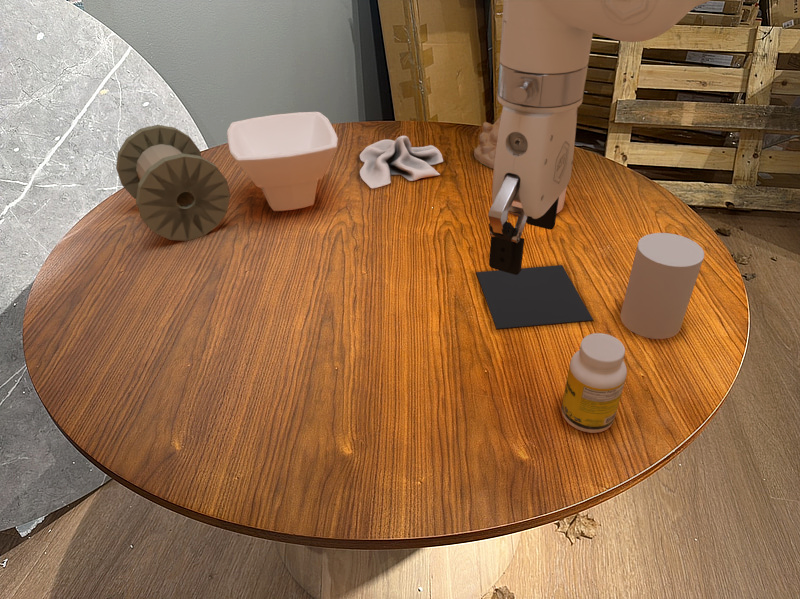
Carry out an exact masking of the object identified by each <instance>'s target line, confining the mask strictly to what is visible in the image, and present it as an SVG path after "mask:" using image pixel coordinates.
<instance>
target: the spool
mask: <svg viewBox="0 0 800 599" xmlns="http://www.w3.org/2000/svg"><path fill="white" fill-rule="evenodd" d="M115 169H116V173H117V175H118V178H119V181H120V184H121V185H122V187H123V188H124V189H125V190H126V191H127V193H128V194H129V195H130V196H131V197H132V198H133V199H135V203H136V206H137V209H138V212H139V215H140V218H141V220H142V221H143V223H144V224H145V225H146V226H147V227H149V229H150V230H151V231H152V232H153V234H156V235H158V236H161V237H163V238H165V239H167V240H170V241H182V242H183V241H185V242H186V241H191V240H194V239H198V238H201V237H204V236H206V235H207V234H209V233H210V232H212V231H213V230H215V228H217V227H218V226H219V225H220V224H221V222H222V220H223V219H224V217H225V216H226V214H227V212H228V210H229V205H230V199H231V192H230V188H229V184H228V180H227V178H226V177H225V176H224V175H223V173H222V171H220V169H219V168H218V167H217V165H216V164H215V163H213V162H211V161H210V160H207V159H206V158H205V157H203V156H202V153H201V150H200V148H199V147H198V146H197V145H196V143H195V142H194V140H192V138H191V137H190V136H189V135H187V133H185V132H183V131H181V130H179V129H178V128H176V127H173V126H168V125H162V124H156V125H155V124H154V125H151V126H146V127H141V128H140V129H138V130H136V131H134V133H132V134H130V135H129V136H128V137H126V138H125V140H124V142H123V143H122V145H121V146H120V148H119V149H118V151H117V157H116V166H115Z"/></svg>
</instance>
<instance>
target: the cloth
mask: <svg viewBox="0 0 800 599" xmlns="http://www.w3.org/2000/svg"><path fill="white" fill-rule="evenodd" d="M443 158H444V157H443V154H442V153H441V151H440V150H439V149H438V148H437V147H436V146H435V145H432V144H429V145H425V146H413V145H412V143H411V140H410V138H409V136H407V135H400V136H398V137H397V138H396V139H395V140H393V139H387V138H386V139H385V138H384V139H381V140H378V141H376V142H374V143H371V144H369V145H367V146H366V147H364V148H363V150H362V151H361V152H360V153H359V159H360V161H361V162H362V163H363V165H362V167H361V168H360V169H359V176H360V178H361V180H362V181H363V182H364V183H365V184H366V186H368V188H370V190H374V189H378V188H382V187H385V186H388V185H390V184H391V183H392V181H391V177H392V176H402V177H403V178H404V179H406V180H407V181H409V182H413V181H417V180H419V179H423V178H431V177H438V176H440V175H441V173H439V171H437V170H436V169H435V167H433V166H435V165H439V164H441V163H443V162H444V159H443Z"/></svg>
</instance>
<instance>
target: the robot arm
mask: <svg viewBox="0 0 800 599" xmlns="http://www.w3.org/2000/svg"><path fill="white" fill-rule="evenodd" d="M711 1H712V0H503V2H502V3H503V5H502V18H501V19H502V21H501V35H500V51H499V64H498V79H497V93H496V100H497V102H498V104H500V105H501V106H502V109H501V113H500V115H501V120H500V126H499V133H498V139H497V147H496V155H495V163H494V169H493V173H492V174H493V175H492V186H491V188H492V190H491V200H492V201H491V202H492V204H491V206H490V208H489V211H488V221H489V223H488V228H489V236H490V245H489V248H490V249H489V258H488V260H489V261H488V266H489V267H490V268H491V269H494V270H496V271H497V270H500V271H504V272H507V273H511V274H514V275H518V274H519V273H520V271H521V268H522V266H523V256H524V247H525V238H523V237H522V235H523V232H524V229H525V226H526V224H527V225H529V226H534V227H536V228H537V227H538V228H541V229H545V230H549V231H550V230H551V231H552V230H553V229H554V228H555V226H556V222H557V214H558V213H557V207H558V200H559V196H560V195H561V193H562V192H563V191H564V189H565V188H566V187H567V186H568V185H569V184H570V180H571V177H572V171H573V164H574V163H573V162H574V152H575V143H576V133H577V122H578V121H577V120H578V108H579V107H580V106H581V105H582V104H583V100H584V94H585V87H586V82H587V81H586V80H587V73H588V68H589V61H590V55H591V49H592V48H591V47H592V42H593V34H596V35H598V36H601V37H605V38H608V39H611V40H616V41H619V42H627V43H636V42H646V41H650V40H652V39H655V38H658V37H660V36H662V35H663V34H665V33H666V32H668V31H669V30H671V29H672V28H673V27H674V26H676V25H677V24H678V23H679V22H680V21H681V20H682V19H683V18H684V17H685V16H687V14H689V13H690V12H691V11H692V10H693V9H695V8H696V7H699V6H701V5H703V4H706V3H708V2H711ZM566 189H567V188H566ZM513 201H515V202H520V203H521V204H522V207H523V208H519V207H515V206H511V205H512V202H513ZM509 214H510V215H512V216H513V215H514V216H517V219H516V222H515V226H514V225H513V224H512V223H511V222H509V221H508V219H509V218H508V217H509V216H508V215H509Z"/></svg>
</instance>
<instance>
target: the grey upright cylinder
mask: <svg viewBox="0 0 800 599" xmlns="http://www.w3.org/2000/svg"><path fill="white" fill-rule="evenodd" d="M704 259H705V251H704V249H703V248H702V246H701V245H699V243H697V242H695V241H694V240H693V239H690V238H688V237H686V236H683V235H680V234H676V233H672V232H671V233H669V232H654V233H649V234H646V235H644V236H642V237H641V238H639V240H638V242H637V246H636V249H635V254H634V257H633V261H632V266H631V269H630V273H629V278H628V282H627V286H626V290H625V293H624V298H623V303H622V307H621V311H620V321H621V323H622V325H623V326H624V327H625V328H626V329H628V330H629V331H630V332H631V333H634V334H635V335H638V336H641V337H643V338H646V339H651V340H665V339H670V338H673V337H675V336H677V335H678V333H679V332H680V331H681V328H682V325H683V322H684V319H685V316H686V313H687V310H688V307H689V304H690V301H691V298H692V294H693V292H694V289H695V286H696V282H697V280H698V277H699V274H700V270H701V268H702V265H703V262H704Z"/></svg>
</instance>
